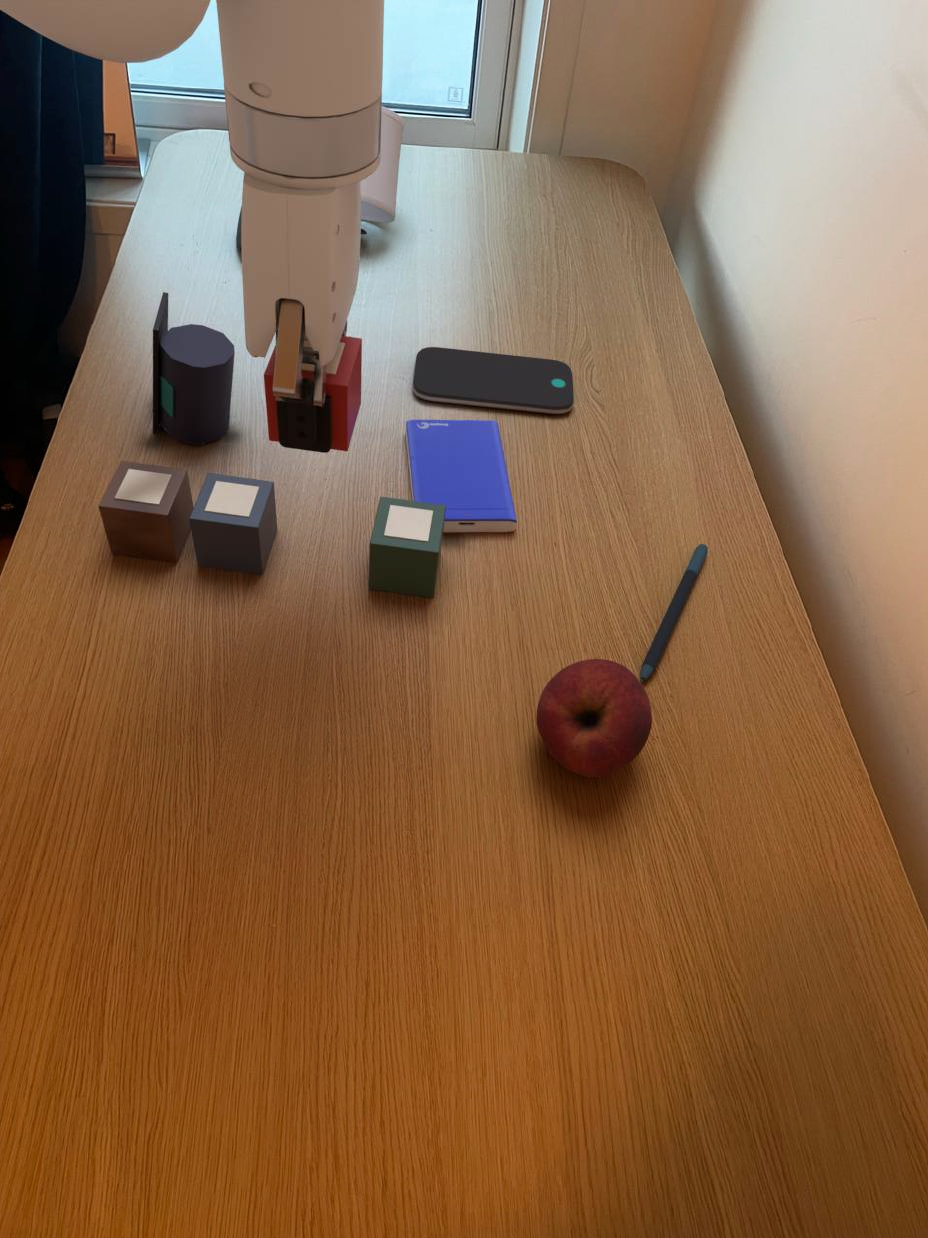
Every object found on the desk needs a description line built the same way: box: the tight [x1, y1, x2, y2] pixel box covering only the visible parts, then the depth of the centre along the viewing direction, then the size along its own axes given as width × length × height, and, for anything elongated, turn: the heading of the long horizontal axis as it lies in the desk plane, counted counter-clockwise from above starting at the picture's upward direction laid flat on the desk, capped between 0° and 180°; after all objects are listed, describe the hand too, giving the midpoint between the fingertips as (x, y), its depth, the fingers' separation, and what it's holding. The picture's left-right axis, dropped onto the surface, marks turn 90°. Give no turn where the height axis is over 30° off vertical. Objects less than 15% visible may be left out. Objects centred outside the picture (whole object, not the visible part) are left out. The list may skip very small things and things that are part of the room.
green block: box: [368, 496, 446, 599], centre depth 70 cm, size 5×5×5 cm
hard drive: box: [404, 418, 518, 533], centre depth 79 cm, size 2×8×12 cm
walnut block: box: [98, 460, 194, 564], centre depth 70 cm, size 5×5×5 cm
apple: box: [536, 658, 653, 778], centre depth 61 cm, size 7×8×8 cm
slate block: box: [189, 472, 278, 575], centre depth 70 cm, size 5×5×5 cm
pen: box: [640, 543, 709, 683], centre depth 72 cm, size 1×16×1 cm, turn 154°
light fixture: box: [235, 105, 405, 252], centre depth 100 cm, size 10×16×17 cm
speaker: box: [152, 291, 236, 445], centre depth 77 cm, size 8×6×10 cm
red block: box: [263, 335, 363, 452], centre depth 59 cm, size 5×5×5 cm
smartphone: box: [412, 346, 575, 415], centre depth 88 cm, size 8×1×15 cm
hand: (315, 416), depth 60 cm, fingers closed on red block, 5 cm apart
